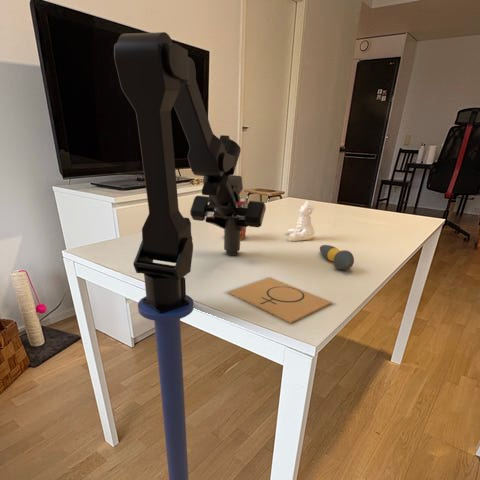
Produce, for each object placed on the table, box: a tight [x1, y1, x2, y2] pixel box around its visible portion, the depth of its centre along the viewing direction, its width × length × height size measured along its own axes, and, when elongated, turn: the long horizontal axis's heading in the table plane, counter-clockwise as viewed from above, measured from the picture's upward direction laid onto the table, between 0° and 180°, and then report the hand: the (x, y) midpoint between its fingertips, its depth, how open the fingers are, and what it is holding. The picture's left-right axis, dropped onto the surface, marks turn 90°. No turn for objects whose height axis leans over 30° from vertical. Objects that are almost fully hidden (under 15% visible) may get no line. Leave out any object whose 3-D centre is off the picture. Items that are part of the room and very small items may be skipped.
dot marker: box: [223, 217, 241, 256], centre depth 93 cm, size 4×4×13 cm
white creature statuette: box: [287, 200, 316, 242], centre depth 111 cm, size 10×9×12 cm
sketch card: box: [228, 277, 332, 324], centre depth 71 cm, size 13×17×1 cm
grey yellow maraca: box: [319, 244, 355, 271], centre depth 92 cm, size 20×5×5 cm, turn 14°
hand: (234, 229), depth 94 cm, fingers closed on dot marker, 4 cm apart
